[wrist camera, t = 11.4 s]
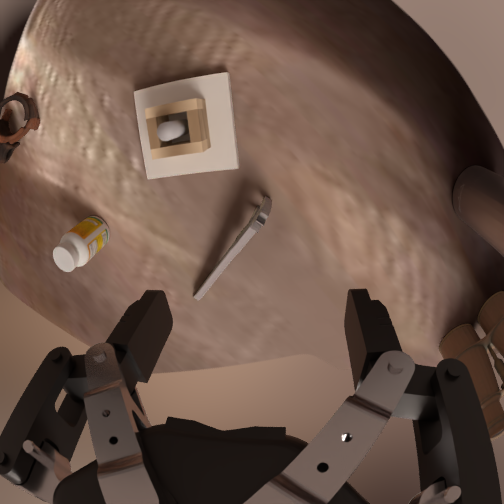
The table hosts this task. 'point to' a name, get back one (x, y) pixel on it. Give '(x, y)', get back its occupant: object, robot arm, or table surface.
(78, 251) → the supplement bottle
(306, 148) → the table surface
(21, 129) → the brown curved piece
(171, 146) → the hollow block
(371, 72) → the table surface
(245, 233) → the caliper
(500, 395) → the binoculars
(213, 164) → the peg base plate
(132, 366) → the robot arm
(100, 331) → the table surface
